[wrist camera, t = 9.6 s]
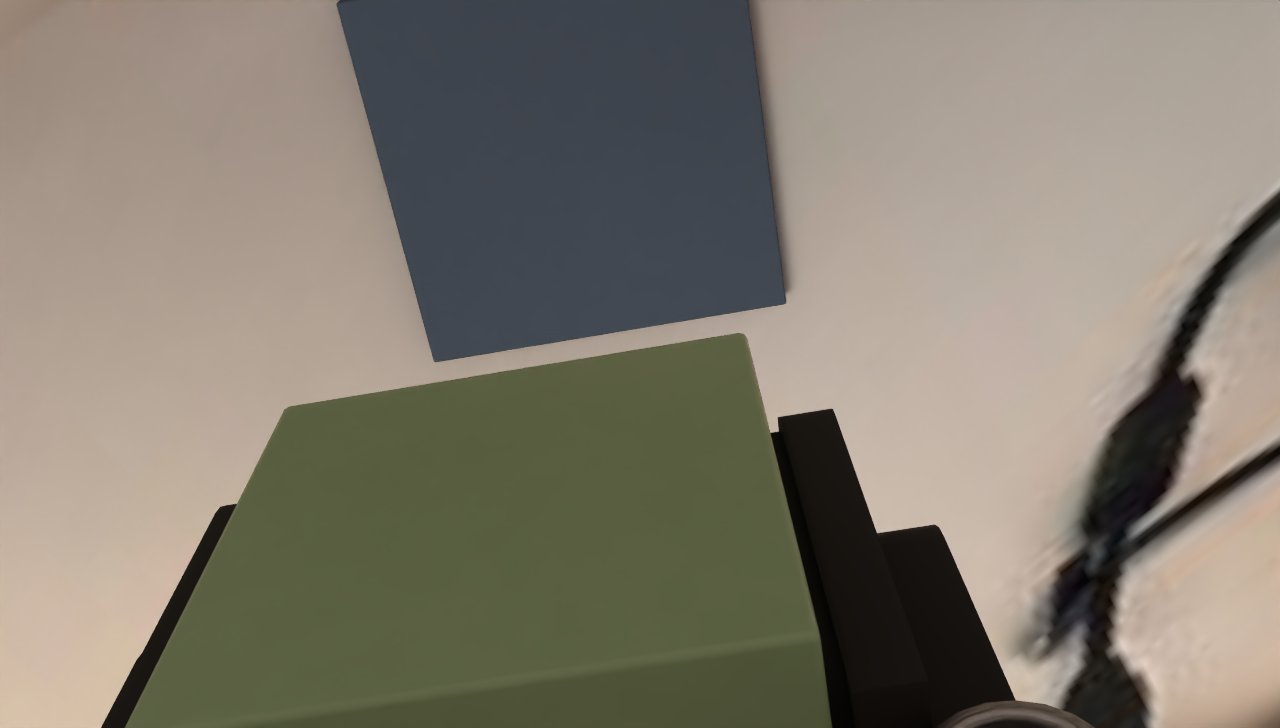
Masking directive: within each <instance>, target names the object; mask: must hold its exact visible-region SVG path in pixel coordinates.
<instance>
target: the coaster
mask: <svg viewBox="0 0 1280 728" xmlns="http://www.w3.org/2000/svg"><path fill="white" fill-rule="evenodd" d="M337 8H338V12H339V15H340V19H341V23H342V26H343V30H344V34H345V37H346V41H347V45H348V48H349V52H350V56H351V59H352V63H353V67H354V70H355V74H356V78H357V81H358V85H359V89H360V92H361V96H362V100H363V103H364V107H365V111H366V114H367V118H368V121H369V125H370V129H371V132H372V136H373V140H374V143H375V147H376V151H377V154H378V158H379V162H380V165H381V169H382V173H383V176H384V180H385V184H386V187H387V191H388V195H389V198H390V202H391V206H392V209H393V213H394V217H395V220H396V224H397V228H398V231H399V235H400V239H401V242H402V246H403V250H404V253H405V257H406V261H407V264H408V268H409V272H410V275H411V279H412V283H413V286H414V290H415V294H416V297H417V301H418V305H419V308H420V312H421V316H422V319H423V323H424V327H425V330H426V334H427V338H428V341H429V345H430V349H431V352H432V356H433V360H434V362H440V361H446V360H452V359H458V358H464V357H470V356H476V355H482V354H488V353H494V352H500V351H506V350H512V349H518V348H524V347H530V346H536V345H542V344H548V343H554V342H560V341H566V340H572V339H578V338H584V337H590V336H596V335H602V334H608V333H614V332H620V331H626V330H632V329H638V328H644V327H650V326H656V325H662V324H668V323H674V322H680V321H686V320H692V319H698V318H704V317H710V316H716V315H722V314H729V313H735V312H741V311H747V310H753V309H759V308H765V307H771V306H777V305H783V304H786V297H785V289H784V281H783V273H782V266H781V258H780V250H779V242H778V234H777V226H776V218H775V210H774V202H773V194H772V186H771V178H770V170H769V162H768V155H767V147H766V139H765V131H764V123H763V115H762V107H761V99H760V91H759V83H758V75H757V67H756V59H755V51H754V44H753V36H752V28H751V20H750V12H749V4H748V0H340V1H339V2H337Z"/></svg>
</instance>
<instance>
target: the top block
mask: <svg viewBox="0 0 1280 728" xmlns="http://www.w3.org/2000/svg"><path fill="white" fill-rule="evenodd" d="M125 728H832V723H831V715H830V707H829V699H828V692H827V684H826V676H825V669H824V661H823V653H822V645H821V638H820V633H819V629H818V625H817V621H816V617H815V613H814V609H813V605H812V600H811V596H810V592H809V588H808V584H807V580H806V576H805V572H804V568H803V564H802V560H801V556H800V552H799V548H798V544H797V539H796V535H795V531H794V527H793V523H792V519H791V515H790V511H789V507H788V503H787V499H786V495H785V491H784V487H783V483H782V479H781V474H780V470H779V466H778V462H777V458H776V454H775V450H774V446H773V442H772V438H771V434H770V430H769V426H768V422H767V418H766V414H765V409H764V405H763V401H762V397H761V393H760V389H759V385H758V381H757V377H756V373H755V369H754V365H753V361H752V357H751V353H750V348H749V344H748V340H747V338H746V336H745V335H744V334H741V333H736V334H730V335H724V336H718V337H712V338H706V339H700V340H694V341H688V342H681V343H675V344H669V345H663V346H657V347H651V348H645V349H639V350H633V351H626V352H620V353H614V354H608V355H602V356H596V357H590V358H584V359H578V360H571V361H565V362H559V363H553V364H547V365H541V366H535V367H529V368H523V369H516V370H510V371H504V372H498V373H492V374H486V375H480V376H474V377H468V378H461V379H455V380H449V381H443V382H437V383H431V384H425V385H419V386H413V387H407V388H400V389H394V390H388V391H382V392H376V393H370V394H364V395H358V396H352V397H345V398H339V399H333V400H327V401H321V402H315V403H309V404H303V405H297V406H291V407H288V408H286V409H285V410H284V412H283V414H282V416H281V418H280V420H279V422H278V424H277V426H276V428H275V429H274V431H273V433H272V435H271V437H270V439H269V441H268V443H267V445H266V447H265V449H264V451H263V453H262V455H261V457H260V459H259V461H258V463H257V465H256V467H255V469H254V471H253V473H252V475H251V477H250V479H249V481H248V483H247V485H246V487H245V489H244V491H243V493H242V495H241V497H240V499H239V501H238V503H237V505H236V507H235V509H234V511H233V513H232V515H231V517H230V519H229V521H228V523H227V525H226V527H225V529H224V531H223V533H222V535H221V537H220V539H219V541H218V543H217V545H216V547H215V549H214V551H213V553H212V555H211V557H210V559H209V561H208V563H207V565H206V567H205V569H204V571H203V573H202V575H201V577H200V579H199V581H198V583H197V585H196V587H195V589H194V591H193V593H192V595H191V597H190V599H189V601H188V603H187V605H186V607H185V609H184V611H183V613H182V615H181V617H180V619H179V621H178V623H177V625H176V627H175V629H174V631H173V633H172V635H171V637H170V639H169V641H168V643H167V645H166V647H165V649H164V651H163V653H162V655H161V657H160V659H159V661H158V663H157V665H156V667H155V669H154V671H153V673H152V675H151V677H150V679H149V681H148V683H147V685H146V687H145V689H144V691H143V693H142V695H141V697H140V699H139V701H138V703H137V705H136V707H135V709H134V711H133V713H132V715H131V717H130V719H129V721H128V723H127V725H126V727H125Z"/></svg>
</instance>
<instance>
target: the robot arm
mask: <svg viewBox="0 0 1280 728" xmlns="http://www.w3.org/2000/svg"><path fill="white" fill-rule="evenodd" d="M778 427H779V432H774V433H770V434H771V438H772V442H773V446H774V450H775V454H776V458H777V462H778V466H779V470H780V474H781V479H782V483H783V487H784V491H785V495H786V499H787V503H788V507H789V511H790V515H791V519H792V523H793V527H794V531H795V535H796V539H797V544H798V548H799V552H800V556H801V560H802V564H803V568H804V572H805V576H806V580H807V584H808V588H809V592H810V596H811V600H812V605H813V609H814V613H815V617H816V621H817V625H818V629H819V633H820V638H821V645H822V653H823V661H824V669H825V676H826V684H827V692H828V699H829V707H830V715H831V723H832V728H1094V727H1093V726H1091V725H1090V724H1088V723H1086V722H1085V721H1083V720H1082V719H1080V718H1079V717H1077V716H1075V715H1074V714H1071V713H1068V712H1066V711H1063V710H1060V709H1057V708H1054V707H1051V706H1048V705H1046V704H1039V703H1031V702H1023V701H1016V700H1015V698H1014V696H1013V693H1012V691H1011V689H1010V686H1009V684H1008V682H1007V680H1006V677H1005V675H1004V673H1003V670H1002V668H1001V666H1000V664H999V661H998V659H997V657H996V654H995V652H994V650H993V648H992V645H991V643H990V641H989V638H988V636H987V634H986V632H985V629H984V627H983V625H982V622H981V620H980V618H979V616H978V613H977V611H976V609H975V606H974V604H973V602H972V600H971V597H970V595H969V593H968V590H967V588H966V586H965V584H964V581H963V579H962V577H961V574H960V572H959V570H958V568H957V565H956V563H955V561H954V558H953V556H952V554H951V552H950V549H949V547H948V545H947V542H946V540H945V538H944V536H943V534H942V532H941V530H940V528H939V527H938V526H936V525H929V526H923V527H916V528H910V529H903V530H897V531H890V532H884V533H877V532H876V529H875V527H874V524H873V521H872V518H871V515H870V512H869V510H868V507H867V504H866V501H865V498H864V495H863V492H862V490H861V487H860V484H859V481H858V478H857V475H856V473H855V470H854V467H853V464H852V461H851V458H850V456H849V453H848V450H847V447H846V444H845V441H844V438H843V436H842V433H841V430H840V427H839V424H838V421H837V419H836V416H835V413H834V411H833V409H827V410H821V411H814V412H808V413H802V414H796V415H789V416H783V417H778ZM236 505H237V504H233V505H226V506H222V507H220V508H219V509H218V510H217V512H216V513H215V515H214V517H213V519H212V521H211V523H210V525H209V526H208V528H207V530H206V532H205V534H204V536H203V538H202V540H201V542H200V544H199V546H198V547H197V549H196V551H195V553H194V555H193V557H192V559H191V561H190V563H189V565H188V567H187V568H186V570H185V572H184V574H183V576H182V578H181V580H180V582H179V584H178V586H177V588H176V590H175V591H174V593H173V595H172V597H171V599H170V601H169V603H168V605H167V607H166V609H165V611H164V612H163V614H162V616H161V618H160V620H159V622H158V624H157V626H156V628H155V630H154V632H153V633H152V635H151V637H150V639H149V641H148V643H147V645H146V647H145V649H144V651H143V652H142V654H141V655H140V656H139V658H138V659H137V660H136V662H135V664H134V666H133V668H132V670H131V672H130V674H129V676H128V677H127V679H126V681H125V683H124V685H123V687H122V689H121V691H120V693H119V695H118V697H117V698H116V700H115V702H114V704H113V706H112V708H111V710H110V712H109V714H108V716H107V717H106V719H105V721H104V723H103V725H102V727H101V728H125V727H126V725H127V723H128V721H129V719H130V717H131V715H132V713H133V711H134V709H135V707H136V705H137V703H138V701H139V699H140V697H141V695H142V693H143V691H144V689H145V687H146V685H147V683H148V681H149V679H150V677H151V675H152V673H153V671H154V669H155V667H156V665H157V663H158V661H159V659H160V657H161V655H162V653H163V651H164V649H165V647H166V645H167V643H168V641H169V639H170V637H171V635H172V633H173V631H174V629H175V627H176V625H177V623H178V621H179V619H180V617H181V615H182V613H183V611H184V609H185V607H186V605H187V603H188V601H189V599H190V597H191V595H192V593H193V591H194V589H195V587H196V585H197V583H198V581H199V579H200V577H201V575H202V573H203V571H204V569H205V567H206V565H207V563H208V561H209V559H210V557H211V555H212V553H213V551H214V549H215V547H216V545H217V543H218V541H219V539H220V537H221V535H222V533H223V531H224V529H225V527H226V525H227V523H228V521H229V519H230V517H231V515H232V513H233V511H234V509H235V507H236Z"/></svg>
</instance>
